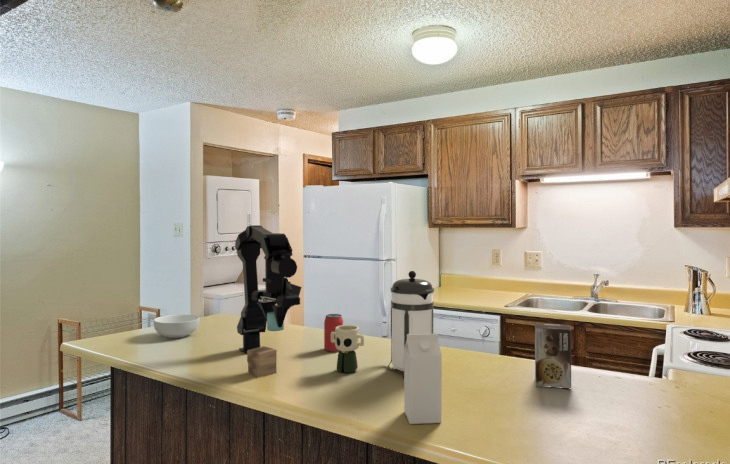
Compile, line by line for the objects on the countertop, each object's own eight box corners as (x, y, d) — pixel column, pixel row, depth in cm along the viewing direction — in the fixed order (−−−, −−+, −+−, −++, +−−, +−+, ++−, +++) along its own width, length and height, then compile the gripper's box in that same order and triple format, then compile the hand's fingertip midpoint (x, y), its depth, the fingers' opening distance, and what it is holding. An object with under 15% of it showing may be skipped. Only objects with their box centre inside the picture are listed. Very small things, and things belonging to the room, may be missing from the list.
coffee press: (444, 366, 142) (444, 269, 141) (428, 383, 128) (429, 274, 127) (391, 359, 149) (391, 267, 149) (371, 374, 135) (371, 271, 134)
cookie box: (569, 382, 128) (569, 324, 128) (571, 390, 122) (572, 329, 122) (534, 378, 131) (534, 322, 131) (534, 386, 125) (535, 326, 125)
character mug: (325, 372, 137) (325, 328, 137) (336, 365, 144) (336, 323, 143) (358, 376, 133) (358, 331, 133) (368, 369, 139) (368, 326, 139)
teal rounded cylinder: (264, 329, 141) (263, 313, 141) (278, 326, 145) (278, 310, 145) (272, 332, 138) (272, 315, 137) (287, 329, 141) (286, 313, 141)
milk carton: (404, 411, 108) (404, 330, 108) (434, 410, 109) (434, 330, 109) (409, 424, 101) (409, 338, 101) (441, 423, 102) (441, 337, 102)
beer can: (344, 347, 164) (344, 313, 164) (341, 352, 158) (341, 317, 157) (326, 346, 165) (326, 313, 165) (322, 352, 158) (322, 317, 158)
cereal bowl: (190, 341, 172) (189, 322, 172) (145, 341, 173) (145, 322, 172) (206, 331, 189) (206, 313, 189) (165, 330, 190) (165, 313, 189)
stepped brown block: (247, 362, 136) (247, 350, 136) (263, 357, 141) (263, 346, 140) (259, 366, 132) (259, 354, 132) (276, 361, 137) (276, 349, 137)
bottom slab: (248, 373, 137) (248, 361, 137) (266, 368, 141) (266, 357, 141) (258, 378, 132) (257, 366, 132) (276, 373, 136) (276, 361, 136)
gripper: (314, 275, 140) (315, 326, 140) (280, 270, 153) (281, 318, 153) (283, 278, 132) (283, 332, 132) (250, 273, 146) (250, 322, 146)
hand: (275, 325), depth 141 cm, fingers closed on teal rounded cylinder, 5 cm apart
